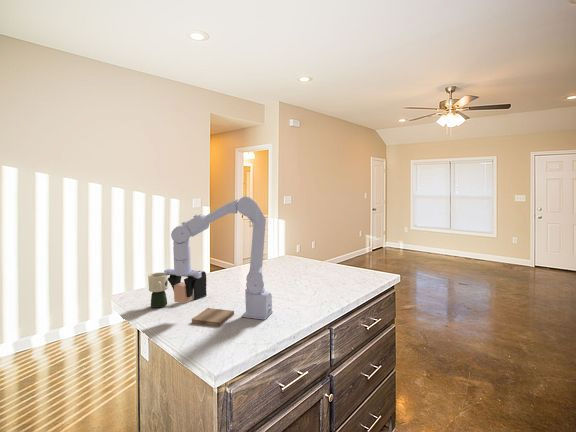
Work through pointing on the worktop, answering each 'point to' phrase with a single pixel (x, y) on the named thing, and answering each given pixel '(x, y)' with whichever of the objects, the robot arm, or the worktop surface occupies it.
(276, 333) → the worktop surface
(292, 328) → the worktop surface
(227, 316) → the walnut board
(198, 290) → the battery charger
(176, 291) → the terracotta block
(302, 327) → the worktop surface
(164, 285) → the character mug
